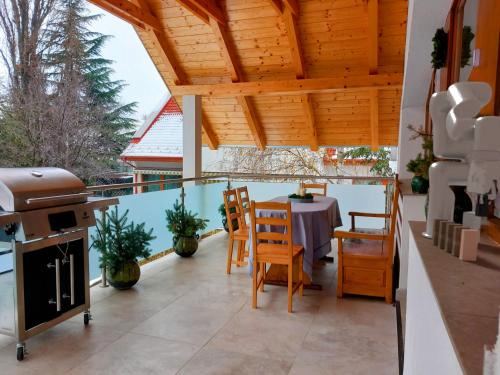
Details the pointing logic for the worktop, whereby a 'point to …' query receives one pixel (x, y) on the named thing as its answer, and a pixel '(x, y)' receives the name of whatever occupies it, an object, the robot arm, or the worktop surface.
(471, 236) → the end tile
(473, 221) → the skincare box
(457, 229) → the domino
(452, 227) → the domino
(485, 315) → the worktop surface
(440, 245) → the domino
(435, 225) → the domino
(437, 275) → the worktop surface
